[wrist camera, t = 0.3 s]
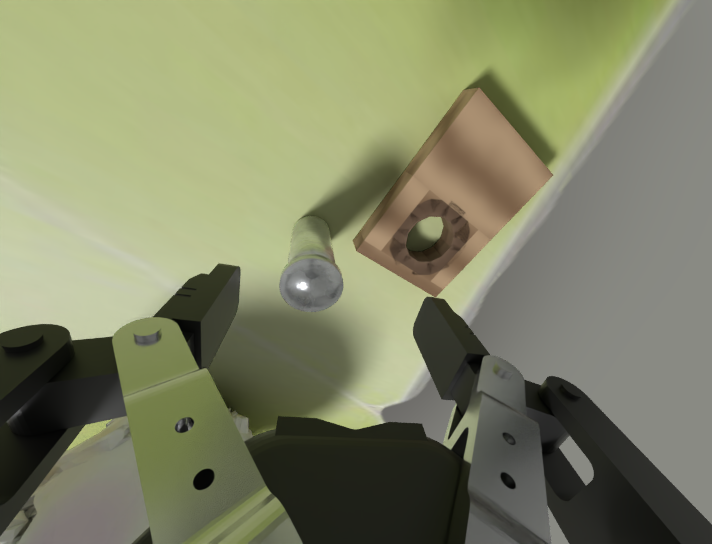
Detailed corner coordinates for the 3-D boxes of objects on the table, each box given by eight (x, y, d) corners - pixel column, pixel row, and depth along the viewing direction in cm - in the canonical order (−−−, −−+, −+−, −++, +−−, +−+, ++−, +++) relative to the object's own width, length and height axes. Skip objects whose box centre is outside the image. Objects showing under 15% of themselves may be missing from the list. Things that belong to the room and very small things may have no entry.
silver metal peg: (303, 203, 31) (299, 248, 21) (341, 227, 33) (355, 277, 23) (281, 240, 33) (268, 296, 22) (318, 259, 35) (322, 319, 25)
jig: (463, 90, 27) (479, 87, 25) (534, 170, 33) (553, 175, 30) (352, 240, 34) (356, 250, 32) (427, 285, 40) (435, 297, 37)
